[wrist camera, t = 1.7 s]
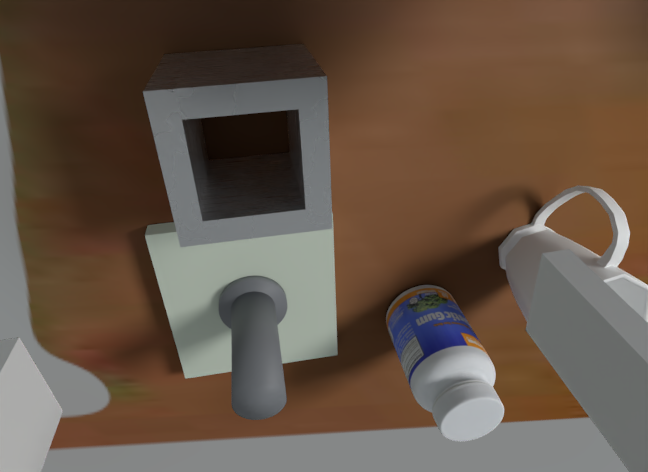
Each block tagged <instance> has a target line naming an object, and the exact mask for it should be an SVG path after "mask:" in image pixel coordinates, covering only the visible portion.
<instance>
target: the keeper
mask: <svg viewBox="0 0 648 472" xmlns="http://www.w3.org/2000/svg"><path fill="white" fill-rule="evenodd" d="M145 239H146V242H147V246H148V249H149V253H150V256H151V260H152V263H153V267H154V270H155V274H156V277H157V281H158V284H159V288H160V291H161V295H162V298H163V302H164V305H165V309H166V312H167V316H168V319H169V323H170V326H171V330H172V333H173V337H174V340H175V344H176V347H177V351H178V354H179V358H180V361H181V365H182V368H183V372H184V375H185V379H186V378H192V377H199V376H205V375H212V374H218V373H225V372H231V371H232V408H233V410H234V411H235V413H237V414H238V415H239V416H241V417H243V418H246V419H252V420H259V419H265V418H269V417H271V416H274V415H275V414H277V413H278V412H280V411H281V410H282V409H283V407H284V406H285V404H286V390H285V382H284V374H283V366H282V364H283V363H289V362H296V361H302V360H309V359H315V358H322V357H328V356H335V355H338V352H337V323H336V294H335V266H334V237H333V213H332V229H326V230H318V231H310V232H302V233H294V234H285V235H277V236H269V237H261V238H253V239H245V240H236V241H228V242H220V243H212V244H204V245H195V246H187V247H180V244H179V240H178V235H177V231H176V227H175V223H174V222H171V223H162V224H153V225H148V226H147V229H146V233H145Z"/></svg>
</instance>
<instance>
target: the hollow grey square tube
mask: <svg viewBox="0 0 648 472" xmlns="http://www.w3.org/2000/svg"><path fill="white" fill-rule="evenodd" d="M143 95H144V99H145V103H146V107H147V111H148V116H149V120H150V124H151V128H152V132H153V136H154V140H155V144H156V149H157V153H158V157H159V161H160V165H161V169H162V173H163V178H164V182H165V186H166V190H167V194H168V198H169V202H170V207H171V211H172V215H173V219H174V223H175V227H176V231H177V235H178V240H179V244H180V247H187V246H195V245H204V244H212V243H220V242H228V241H236V240H245V239H253V238H261V237H269V236H277V235H285V234H294V233H302V232H310V231H318V230H326V229H332V202H331V174H330V147H329V119H328V91H327V76H326V74H325V73H324V71H323V70H322V69H321V67H320V66H319V64H318V63H317V62H316V60H315V59H314V57H313V56H312V55H311V53H310V52H309V50H308V49H307V48H306V46H305V45H304V44H294V45H281V46H267V47H254V48H241V49H227V50H214V51H200V52H187V53H173V54H164V56H163V57H162V59H161V61H160V63H159V64H158V66H157V68H156V69H155V71H154V73H153V75H152V76H151V78H150V80H149V82H148V83H147V85H146V87H145V88H144V90H143ZM285 110H286V117H287V129H288V141H289V152H284V153H274V154H264V155H254V156H245V157H235V158H225V159H215V160H208V154H207V149H206V143H205V138H204V132H203V127H202V121H201V118H208V117H219V116H230V115H241V114H252V113H263V112H274V111H285Z"/></svg>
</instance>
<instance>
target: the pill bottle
mask: <svg viewBox="0 0 648 472" xmlns="http://www.w3.org/2000/svg"><path fill="white" fill-rule="evenodd" d="M386 324H387V329H388V332H389V334H390V337H391V339H392V342H393V344H394V347H395V349H396V352H397V354H398V357H399V359H400V362H401V365H402V367H403V370H404V372H405V375H406V377H407V380H408V383H409V385H410V388H411V390H412V392H413V395H414V397H415V399H416V401H417V402H418V403H419V405H420V406H421V407H423V408H424V409H426V410H428V411H430V412H432V413H433V418H434V420H435V421H436V424H437V426H438V428H439V430H440V432H441V434H442V435H443V436H444V437H446V438H447V439H450V440H453V441H469V440H473V439H477V438H479V437H482V436H484V435H486V434H487V433H489V432H491V431H492V430H493V429H495V428H496V427H497V426H498V425H499V423H500V422H501V420H502V418H503V416H504V407H503V404H502V402H501V400H500V399H499V397H498V395H497V393H496V391H495V390H494V388H493V385H494V382H495V376H496V374H495V368H494V365H493V363H492V361H491V360H490V358H489V356H488V354H487V353H486V351H485V349H484V348H483V346H482V344H481V343H480V341H479V340H478V338H477V336H476V335H475V333H474V331H473V330H472V328H471V326H470V325H469V323H468V321H467V320H466V318H465V316H464V315H463V313H462V311H461V310H460V308H459V306H458V304H457V303H456V301H455V300H454V298H453V297H452V295H451V294H450V293H449V292H448V291H446V290H445V289H443V288H441V287H438V286H434V285H420V286H416V287H413V288H410V289H408V290H406V291H405V292H403V293H402V294H400V295H399V296H398V297H397V298H396V299H395V300H394V301H393V302H392V304H391V305H390V307H389V309H388V311H387V314H386Z"/></svg>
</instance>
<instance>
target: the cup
mask: <svg viewBox="0 0 648 472" xmlns="http://www.w3.org/2000/svg"><path fill="white" fill-rule="evenodd" d="M584 192H587V193H590V194H591V195H592V196H593V197H594V198H595V199H596V200H597V201H599V202H600V204H601V205H602V206H603V208H604V209H605V210H606V212H607V213H608V214H609V217H610V221H611V225H612V229H613V233H614V234H613V241H612V244H611V245H610V246H609V248H608V249H607V250H606V252H605V253H604V254H603V256H602V257H600V256H598V255H597V254H595V253H594V252H592V251H590V250H588V249H587V248H585V247H583V246H581V245H579V244H577V243H575V242H574V241H572V240H570V239H568V238H566V237H563V236H561V235H559V234H557V233H555V232H554V231H553V230H551V229H550V228H548V227H546V226H544V224H545V221H546V219H547V217H548V216H549V215H550V214H551V213H552V212H553V211H554V210H555V209H556V208H557V207H559V206H560V205H562V204H563V203H565V202H566V201H568V200H570V199H571V198H573V197H574V196H576V195H579V194H581V193H584ZM629 237H630V231H629V227H628V223H627V219H626V215H625V213H624V212H623V211H622V209H621V208H620V207H619V205H618V204H617V203H616V202H615V200H614V199H613V198H612V197H611V196H609V195H608V194H607V193H606V192H605V191H603V190H602V189H598V188H594V187H590V186H576V187H573V188H570V189H567V190H565V191H563V192H562V193H560V194H559V195H557V196H555V197H554V198H553V199H551V200H550V201H549V202H547V203H546V204H545V205H544V206H543V207H542V208H541V209H540V210H539V211H538V212H537V213H536V214H535V216H534V219H533V221H532V223H531V224H528V225H524V226H521V227H518V228H515V229H513V230H512V232H511V233H510V234H509V235H508V236H507V238H506V239H505V240H504V241H503V242H502V244H501V245H500V246H499V247H498V249H499V264H500V267H501V268H502V269H504V270H506V276H507V279H508V282H509V284H510V287H511V290H512V293H513V295H514V298H515V300H516V302H517V304H518V306H519V308H520V309H521V311H522V313H523V315H524V317H525V319H526V321H527V322H528V317H529V312H530V308H531V303H532V298H533V294H534V289H535V284H536V280H537V275H538V270H539V266H540V261H541V256H542V253H548V252H554V251H560V250H567V249H570V250H571V251H572V252H573V253H574V254H575V255H576V256H578V257H579V258H580V259H581V260H582V261H583V262H584V263H585V264H586V265H587V266H588V267H589V268H590V269H591V270H592V271H593V272H594V273H596V274H597V275H598V276H599V277H600V278H601V279H602V280H603V281H604V282H605V283H606V284H607V285H608V286H609V287H610V288H611V289H612V290H614V291H615V292H616V293H617V294H618V295H619V296H620V297H621V298H622V299H623V300H624V301H625V302H626V303H627V304H628V305H629V306H630V307H632V308H633V309H634V310H635V311H636V312H637V313H638V314H639V315H640V316H641V317H642V318H643V319H644V320H645V321H646V322H648V285H647V284H645V283H644V282H642V281H640V280H639V279H637V278H635V277H634V276H632V275H630V274H628V273H627V272H625V271H623V270H621V269H620V268H618V267H617V266H618V264H619V263H620V262H621V261H622V259H623V256H624V254H625V252H626V249H627V247H628V244H629Z"/></svg>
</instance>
